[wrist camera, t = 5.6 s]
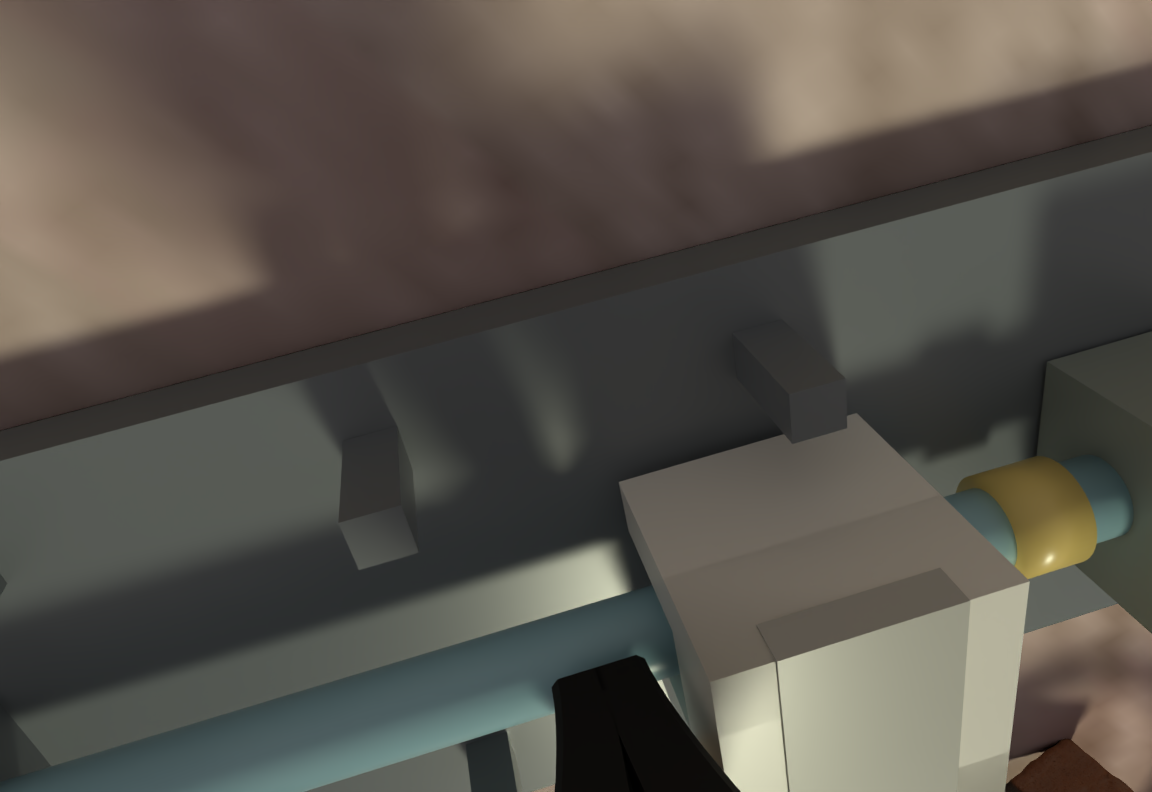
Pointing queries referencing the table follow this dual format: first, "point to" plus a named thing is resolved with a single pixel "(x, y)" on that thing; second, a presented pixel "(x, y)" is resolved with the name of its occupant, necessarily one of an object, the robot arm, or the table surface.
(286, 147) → the table surface
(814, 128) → the table surface
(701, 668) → the sleeve
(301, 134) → the table surface
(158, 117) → the table surface
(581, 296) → the miniature lathe model
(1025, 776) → the pottery mug
